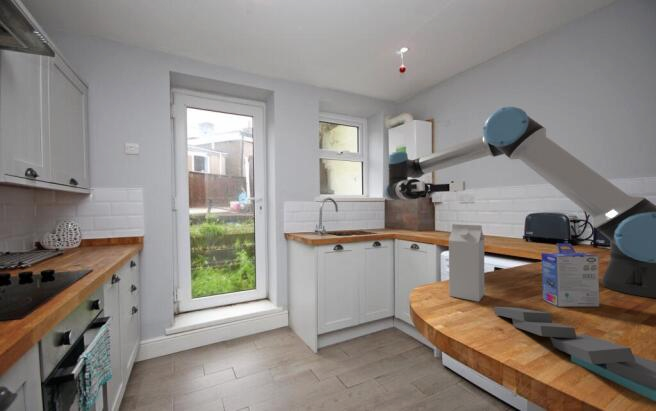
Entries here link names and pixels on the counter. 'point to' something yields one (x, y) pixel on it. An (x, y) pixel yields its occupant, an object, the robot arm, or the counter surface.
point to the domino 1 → (523, 314)
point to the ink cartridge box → (570, 277)
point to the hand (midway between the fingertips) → (444, 185)
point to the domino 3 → (593, 349)
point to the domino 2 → (546, 328)
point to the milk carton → (466, 262)
